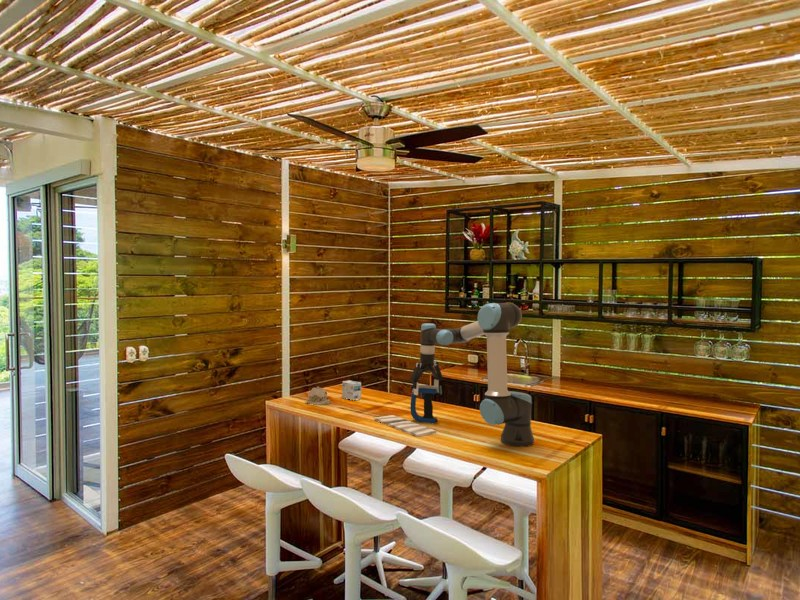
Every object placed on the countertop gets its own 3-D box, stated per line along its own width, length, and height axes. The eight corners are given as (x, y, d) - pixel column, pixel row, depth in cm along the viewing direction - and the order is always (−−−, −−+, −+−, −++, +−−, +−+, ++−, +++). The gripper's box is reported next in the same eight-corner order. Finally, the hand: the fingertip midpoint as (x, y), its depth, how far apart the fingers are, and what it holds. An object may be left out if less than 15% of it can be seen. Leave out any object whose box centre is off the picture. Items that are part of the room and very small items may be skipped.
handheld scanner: (440, 424, 277) (441, 386, 277) (409, 421, 280) (410, 384, 280) (441, 422, 281) (442, 385, 281) (411, 419, 285) (412, 383, 284)
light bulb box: (361, 399, 330) (361, 382, 330) (353, 401, 325) (353, 383, 324) (349, 396, 337) (349, 379, 337) (341, 398, 332) (341, 381, 332)
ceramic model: (303, 404, 314) (303, 387, 313) (309, 400, 325) (310, 384, 324) (326, 406, 311) (326, 389, 311) (332, 402, 322) (332, 385, 322)
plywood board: (436, 433, 261) (436, 430, 260) (416, 437, 253) (417, 434, 253) (392, 417, 289) (392, 414, 289) (374, 420, 282) (374, 417, 282)
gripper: (440, 350, 290) (439, 389, 291) (404, 353, 275) (402, 394, 276) (450, 352, 284) (448, 392, 285) (413, 355, 269) (411, 397, 270)
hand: (426, 393), depth 281 cm, fingers open, 13 cm apart
